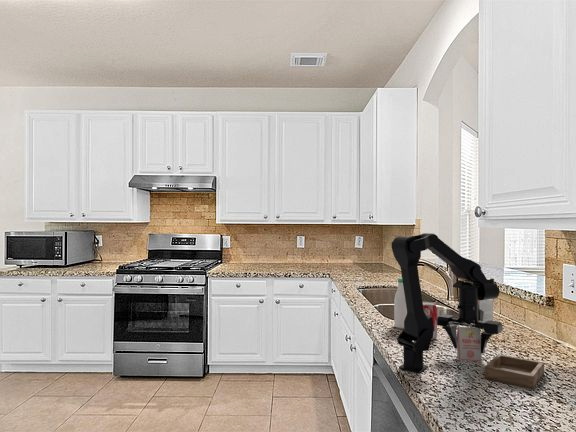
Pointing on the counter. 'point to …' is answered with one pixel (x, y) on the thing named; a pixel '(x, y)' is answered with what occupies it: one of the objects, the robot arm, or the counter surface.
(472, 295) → the robot arm
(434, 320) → the soda can
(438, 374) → the counter surface
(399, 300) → the milk bottle
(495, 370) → the walnut tray
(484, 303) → the small box
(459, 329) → the tea bag
